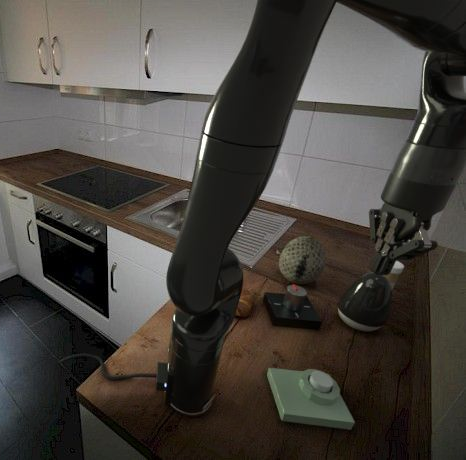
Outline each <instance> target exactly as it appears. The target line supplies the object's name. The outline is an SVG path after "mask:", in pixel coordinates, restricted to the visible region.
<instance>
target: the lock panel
mask: <svg viewBox="0 0 466 460" xmlns="http://www.w3.org/2000/svg"><path fill="white" fill-rule="evenodd" d="M285 294H286V293H283V292H282V293H281V292H269V291H267V292H266V291H264V294H263V297H262V302H263V305H264V308H265V310H266V313H267V314H268V317H269V320H270V322H271V325H272V327H279V328H290V329H291V328H292V329H299V330H310V331H320V330H321V326H322V324H323V320H322V318H321V317H320V314H319V313H318V311H317V310H316V308H315V307H314V305H313V303H312V302H311V300H310V299H309V297H308V295H306V297H305V300H304V303H303V306H302V309H301V310H300V311H291V310H289V309H287V308H286V307H284V305H283V301H284V297H285Z"/></svg>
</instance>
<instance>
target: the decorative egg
mask: <svg viewBox="0 0 466 460" xmlns="http://www.w3.org/2000/svg"><path fill="white" fill-rule="evenodd" d="M326 261H327V257H326V251H325V248H324V246H323V244H322V243H321V242H320V241H319V240H317V238H314V237H312V236H307V235H306V236H304V235H303V236H299V237H296V238H294V239H292V240H290V241H289V242H288V243H287V244H286V245H285V246H284V247H283V249H282V251H281V253H280V256H279V260H278V267H279V270H280V271H279V272H280V273H281V274H282V276H283V277H284V279H286V280H287V281H289V282H290V283H292V284H295V285H309V284H310V283H313V282H315V281H316V280H317V279H319V278H320V276H321V275H322V274H323V272H324V270H325V267H326Z"/></svg>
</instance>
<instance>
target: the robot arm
mask: <svg viewBox="0 0 466 460" xmlns="http://www.w3.org/2000/svg"><path fill="white" fill-rule="evenodd" d="M337 4H339V5H340V6H343V7H344V8H347V9H348V10H351V11H352V12H354V13H356V14H358V15H360V16H362V17H363V18H366V19H367V20H369V21H371V22H372V23H374V24H375V25H377V26H379V27H380V28H382V29H384V31H386V32H388V33H390V34H391V35H393V36H394V37H396V38H397V39H399V40H401V41H402V42H404V43H405V44H407V45H409V46H410V47H412V48H414V49H416V50H418V51H422V52H424V53H423V57H422V62H421V63H422V64H421V75H420V88H419V96H418V106H417V113H416V115H415V117H414V120H413V122H412V124H411V127H410V129H409V130H408V131H409V132H408V134H407V136H406V139H405V141H404V142H403V144H402V146H401V148H400V150H399V152H398V153H397V155H396V157H395V160H394V163H393V164H392V167H391V169H390V172H389V174H388V176H387V179H386V182H385V184H384V186H383V188H382V191H381V193H380V199H381V200H382V202H383V204H382V206H381V207H380V208H370V209H369V211H368V219H369V236H370V243H372V244H374V245H375V246H374V250H375V253H374V256H373V258H372V260H371V264H370V267H369V270H370V271H371V272H374V273H375V274H376V275H388V274H389V273H390V272H391V270H392V268H393V266H394V264H395V262H396V261H398V260H402V261H411V260H413V259H415V258H417V257H419V256H422V255H424V254H427V253H429V252H431V251H433V250H435V249H437V248H438V245H439V244H438V242H437V240H430V237H429V234H428V231H429V230H430V229H431V227H432V219H433V217H434V216H435V215H436V214H439V213H440V212H443V211H444V210H445V209H446V206H447V205H448V203H449V201H450V199H451V197H452V195H453V193H454V191H455V189H456V187H457V186H458V184H459V181H460V180H461V178H462V176H463V174H464V172H465V170H466V91H465V82H464V81H465V77H466V0H256V3H255V9H254V13H253V16H252V19H251V21H250V22H251V23H250V26H249V28H248V31H247V34H246V37H245V38H244V41H243V43H242V46H241V48H240V50H239V52H238V54H237V56H236V57H235V59H234V61H233V63H232V64H231V66H230V68H229V69H228V71H227V73H226V74H225V76H224V78H223V79H222V81H221V83H220V85H219V86H218V88H217V89H216V92H215V94H214V95H213V98H212V99H211V101H210V103H209V105H208V107H207V109H206V113H205V116H204V119H203V123H202V127H201V131H200V137H199V142H198V146H197V150H196V157H195V161H194V169H193V173H192V179H191V182H190V186H189V187H190V188H189V192H188V196H187V199H186V200H187V201H186V205H185V209H184V214H183V219H182V223H181V226H180V230H179V234H178V237H177V239H176V243H175V244H174V248H173V251H172V254H171V257H170V259H169V263H168V266H167V269H166V275H165V277H166V279H165V284H166V285H165V286H166V290H167V294H168V297H169V299H170V301H171V303H172V305H173V306H174V308H175V309H174V310H173V313H172V316H171V321H170V334H169V342H168V346H167V350H166V361H165V362H161V361H158V362H157V364H156V373H147V372H135V373H129V374H122V375H117V376H113V375H109V374H108V373H107V370H106V368H105V363H104V360H103V359H102V358H101V357H99V356H97V355H95V354H92V353H75V354H72V355H69V356H66V357H64V358H62V359H61V360H59V363H60V364H64V363H66V362H67V361H70V360H73V359H79V358H90V359H94V360H96V361H98V362H99V364H100V369H101V373H102V375H103V376H104V378H106V379H107V380H110V381H119V380H125V379H133V378H154V379H155V378H156V379H155V381H156V383H155V391H159V392H163V395H164V396H163V397H164V398H163V405H164V406H165V407H170V408H171V410H173V411H174V412H175V413H177V414H179V415H181V416H183V417H187V418H199V417H201V416H203V415H205V414H206V413H208V412H209V410H210V408H211V407H212V403H213V400H214V399H215V398H216V394H214V391H215V386H216V381H217V377H218V372H219V368H220V363H221V358H222V355H223V348H224V344H225V340H226V335H227V333H228V331H229V330H230V328H231V326H232V325H233V323H234V320H235V317H236V316H235V314H236V310H237V307H238V303H239V300H240V296H241V292H242V288H244V271H243V270H244V269H243V266H242V263H241V261H240V259H239V257H238V256H237V254H236V253H235V252H234V251H232V250H231V248H229V247H230V244H231V242H232V240H233V238H234V237H235V235H236V233H237V232H238V231H239V230H240V227H241V226H242V225H243V224H244V222H245V220H246V219H247V218H248V216H249V215H250V214H251V212H252V211H253V209H254V207H255V206H256V204H257V203H258V201H259V199H260V198H261V197H262V195H263V193H264V191H265V190H266V188H267V185H268V184H269V182H270V179H271V177H272V175H273V173H274V170H275V167H276V165H277V161H278V158H279V155H280V152H281V150H282V147H283V144H284V141H285V138H286V134H287V131H288V127H289V124H290V122H291V118H292V115H293V112H294V109H295V107H296V104H297V102H298V98H299V96H300V93H301V91H302V88H303V85H304V84H305V80H306V77H307V75H308V73H309V69H310V67H311V64H312V62H313V59H314V56H315V53H316V51H317V48H318V45H319V43H320V40H321V38H322V36H323V33H324V31H325V28H326V27H327V24H328V22H329V20H330V17H331V15H332V13H333V11H334V8H335V6H336V5H337Z"/></svg>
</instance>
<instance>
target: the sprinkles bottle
mask: <svg viewBox="0 0 466 460" xmlns="http://www.w3.org/2000/svg"><path fill="white" fill-rule="evenodd" d="M404 268H405V265H404V264H403V263H402V262H401V261H398V260H396V262H395V264H394V266H393V268H392V270H391V272H390V273H389V274H388V275H384V276H385V277H386V278H387V279H388V280H389V282H390V285H391V289H392V290H393V289H394V287H395V285H396V283H397V281H398V278H399V277H400V275H401V274H402V273H403V271H404Z"/></svg>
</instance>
